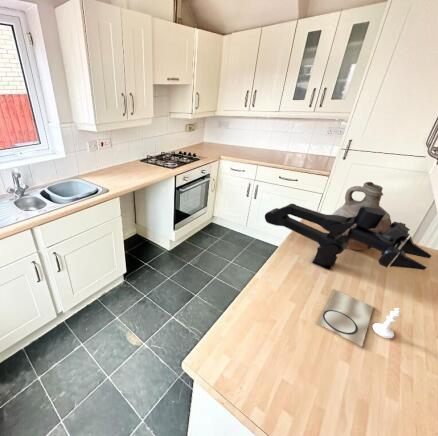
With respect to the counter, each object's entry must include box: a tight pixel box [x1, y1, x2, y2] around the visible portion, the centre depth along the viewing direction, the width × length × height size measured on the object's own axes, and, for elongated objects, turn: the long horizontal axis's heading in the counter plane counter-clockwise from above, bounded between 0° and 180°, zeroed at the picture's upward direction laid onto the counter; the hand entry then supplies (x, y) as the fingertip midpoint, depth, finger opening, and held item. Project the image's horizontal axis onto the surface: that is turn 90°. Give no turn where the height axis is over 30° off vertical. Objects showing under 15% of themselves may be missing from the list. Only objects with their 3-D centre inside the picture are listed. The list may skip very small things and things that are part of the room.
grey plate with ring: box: [318, 289, 374, 348], centre depth 79 cm, size 11×20×1 cm, turn 134°
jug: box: [331, 181, 393, 251], centre depth 107 cm, size 22×22×30 cm
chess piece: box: [372, 307, 401, 339], centre depth 72 cm, size 5×5×10 cm
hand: (428, 262), depth 77 cm, fingers open, 9 cm apart
